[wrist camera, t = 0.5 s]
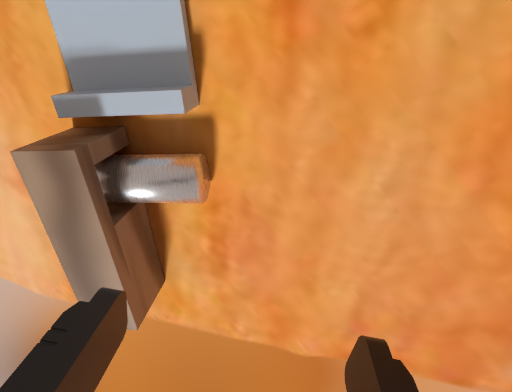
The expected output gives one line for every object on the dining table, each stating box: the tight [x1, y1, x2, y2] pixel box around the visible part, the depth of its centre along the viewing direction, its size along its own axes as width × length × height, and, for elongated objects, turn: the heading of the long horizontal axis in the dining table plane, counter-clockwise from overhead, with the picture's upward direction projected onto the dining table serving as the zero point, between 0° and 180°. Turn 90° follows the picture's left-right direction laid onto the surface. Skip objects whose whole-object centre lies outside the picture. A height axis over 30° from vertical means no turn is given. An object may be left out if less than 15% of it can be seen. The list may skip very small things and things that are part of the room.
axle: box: [94, 154, 210, 203], centre depth 26 cm, size 12×4×4 cm, turn 94°
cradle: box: [45, 0, 199, 118], centre depth 21 cm, size 10×10×4 cm
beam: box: [10, 126, 165, 330], centre depth 27 cm, size 5×18×7 cm, turn 3°
